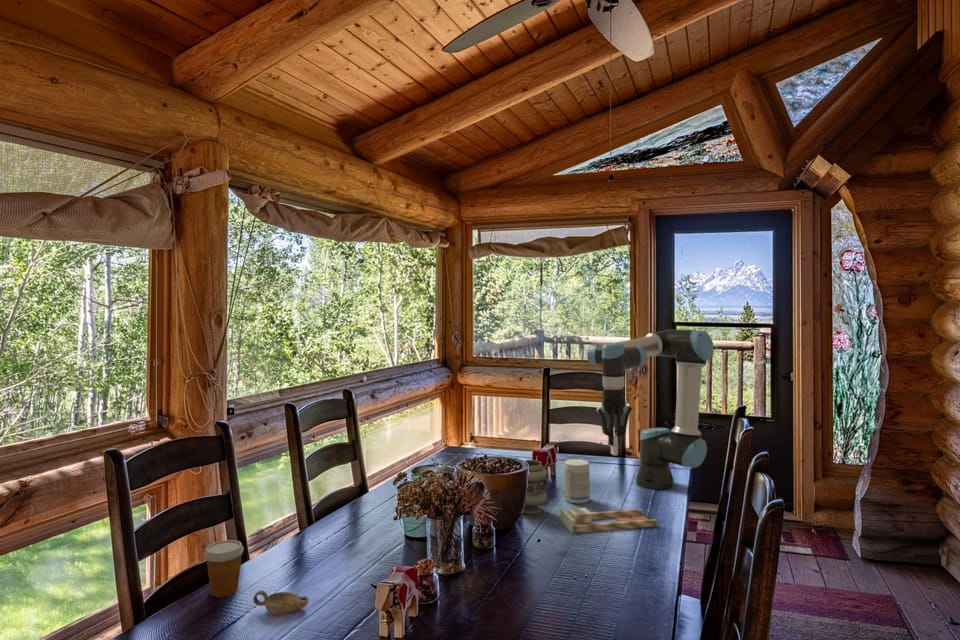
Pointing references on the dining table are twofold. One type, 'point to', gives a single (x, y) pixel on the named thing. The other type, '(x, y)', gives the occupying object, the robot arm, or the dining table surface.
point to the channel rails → (615, 524)
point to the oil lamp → (281, 602)
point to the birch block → (580, 516)
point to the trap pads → (639, 517)
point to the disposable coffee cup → (224, 566)
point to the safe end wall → (567, 520)
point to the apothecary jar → (535, 489)
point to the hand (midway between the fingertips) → (614, 454)
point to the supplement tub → (576, 481)
